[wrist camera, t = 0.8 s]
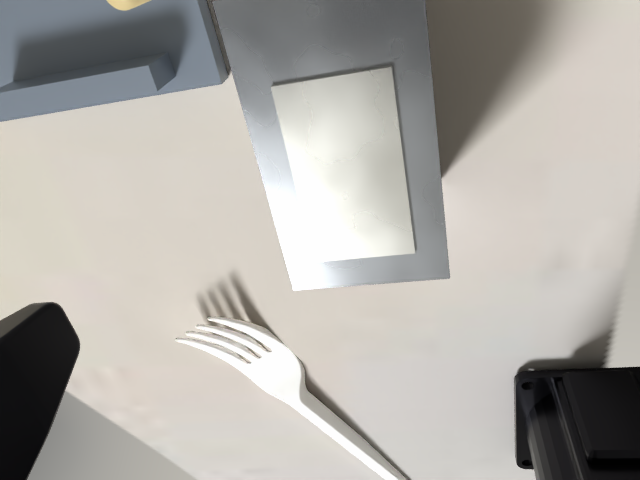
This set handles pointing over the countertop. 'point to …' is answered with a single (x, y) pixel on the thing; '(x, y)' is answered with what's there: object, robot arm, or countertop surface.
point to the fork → (284, 382)
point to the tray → (102, 52)
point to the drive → (343, 135)
